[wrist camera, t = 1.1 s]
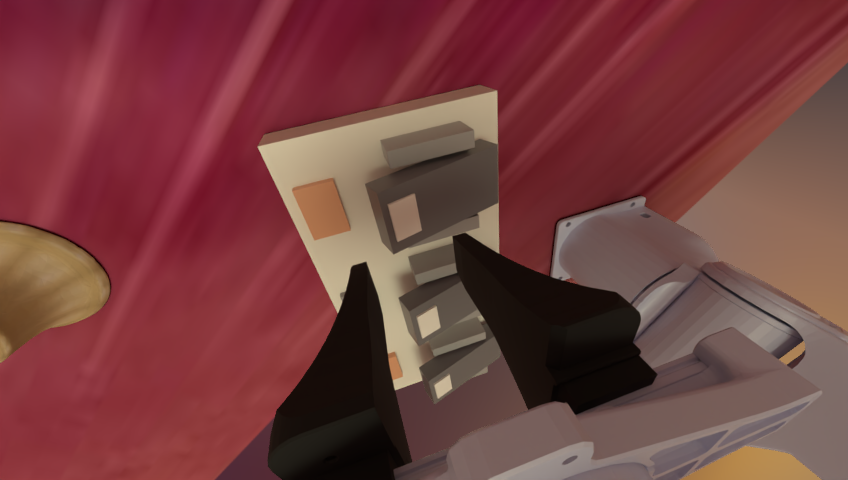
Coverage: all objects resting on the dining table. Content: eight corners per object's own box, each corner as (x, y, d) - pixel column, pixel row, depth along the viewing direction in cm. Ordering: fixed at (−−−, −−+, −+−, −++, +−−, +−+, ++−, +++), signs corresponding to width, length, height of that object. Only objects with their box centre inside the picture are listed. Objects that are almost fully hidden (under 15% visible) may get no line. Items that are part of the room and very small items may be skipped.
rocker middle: (485, 249, 25) (500, 260, 23) (486, 285, 27) (500, 296, 26) (398, 297, 22) (410, 312, 21) (408, 332, 24) (419, 347, 23)
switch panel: (479, 84, 20) (515, 96, 17) (490, 335, 36) (509, 370, 33) (264, 134, 19) (250, 160, 15) (374, 375, 34) (381, 417, 31)
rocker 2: (488, 321, 30) (500, 333, 29) (489, 345, 32) (501, 357, 31) (418, 367, 27) (429, 383, 26) (425, 390, 30) (435, 405, 28)
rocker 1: (480, 138, 19) (499, 144, 18) (482, 194, 22) (499, 203, 21) (364, 183, 17) (378, 194, 15) (381, 242, 19) (394, 255, 18)
